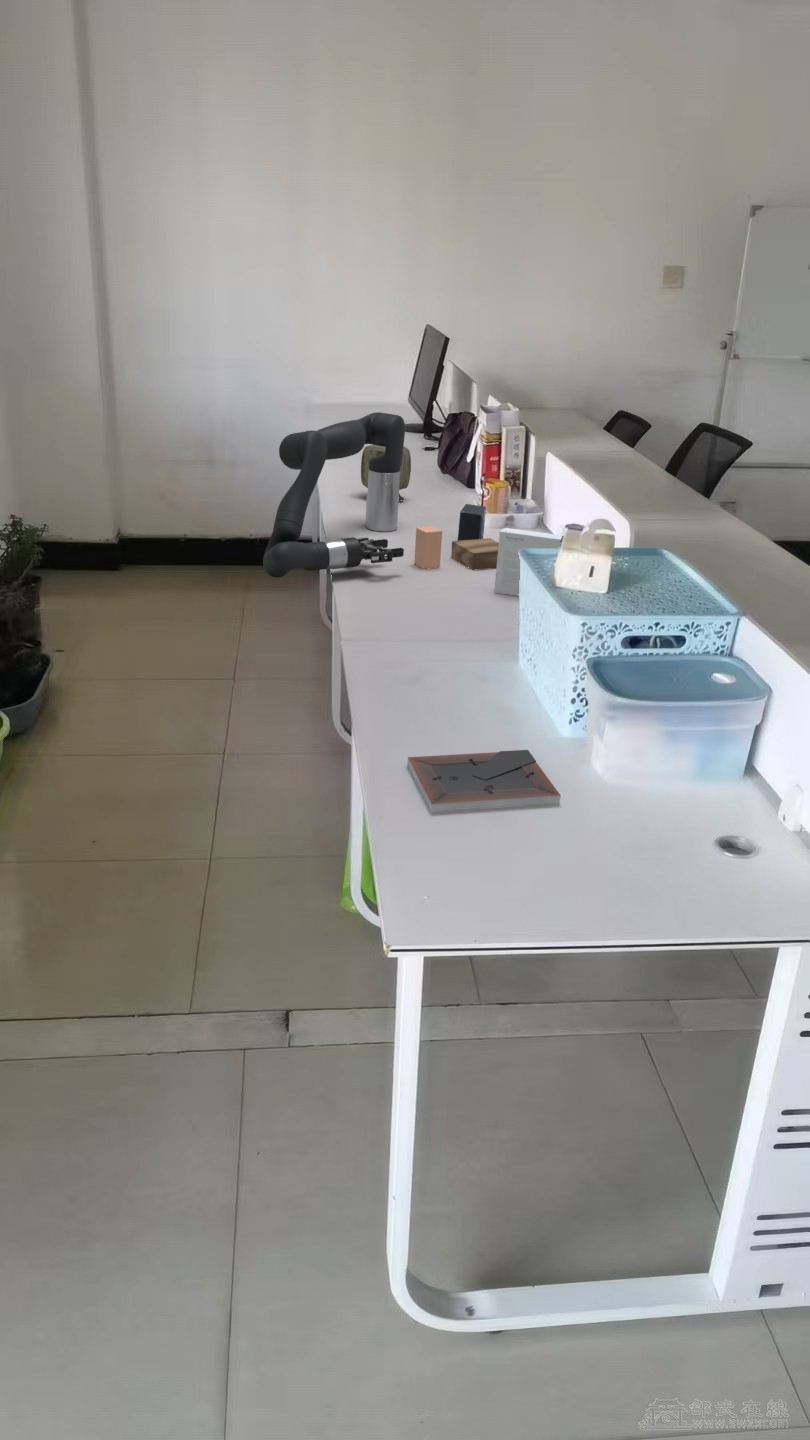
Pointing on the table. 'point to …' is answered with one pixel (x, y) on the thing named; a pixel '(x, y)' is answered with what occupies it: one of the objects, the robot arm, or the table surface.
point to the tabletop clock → (378, 451)
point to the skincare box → (509, 555)
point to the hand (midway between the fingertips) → (394, 547)
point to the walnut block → (476, 553)
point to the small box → (471, 522)
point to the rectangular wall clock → (482, 781)
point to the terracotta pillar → (428, 547)
